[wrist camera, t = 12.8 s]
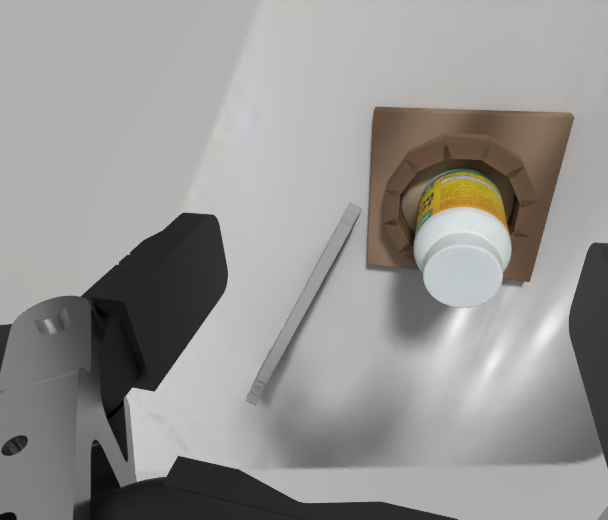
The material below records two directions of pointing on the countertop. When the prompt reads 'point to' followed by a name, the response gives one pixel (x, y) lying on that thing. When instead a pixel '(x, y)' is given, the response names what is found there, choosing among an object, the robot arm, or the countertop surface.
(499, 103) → the countertop surface
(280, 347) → the caliper
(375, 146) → the bottle holder
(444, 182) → the supplement bottle
